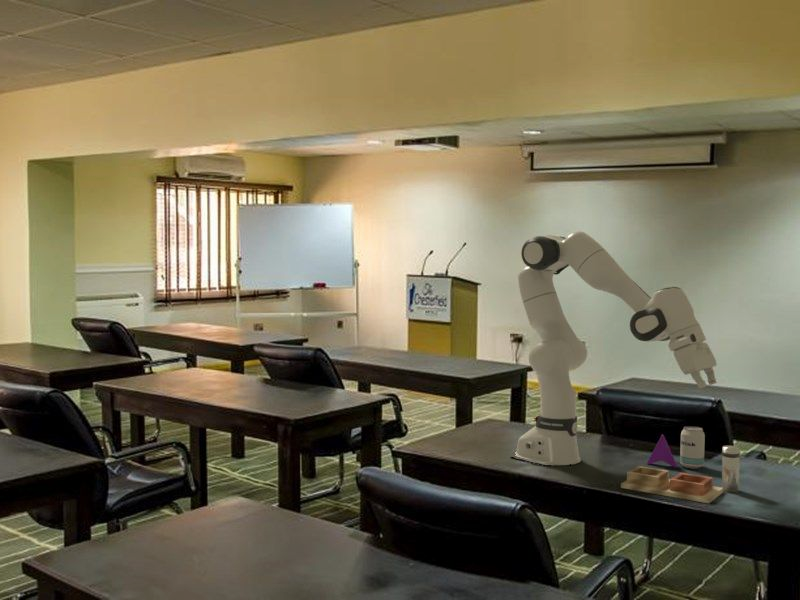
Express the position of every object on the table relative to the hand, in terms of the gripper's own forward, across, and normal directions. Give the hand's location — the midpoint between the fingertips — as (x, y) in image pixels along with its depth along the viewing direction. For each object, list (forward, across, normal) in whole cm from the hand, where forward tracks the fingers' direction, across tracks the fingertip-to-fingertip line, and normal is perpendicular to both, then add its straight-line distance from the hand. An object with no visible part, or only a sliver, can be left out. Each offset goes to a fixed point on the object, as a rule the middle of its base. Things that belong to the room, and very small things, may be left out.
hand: (708, 385), depth 222 cm
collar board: (+23, +9, -18) cm, 31 cm away
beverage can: (+21, -20, -21) cm, 36 cm away
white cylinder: (+29, -1, -6) cm, 29 cm away
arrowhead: (+18, -16, -28) cm, 37 cm away
